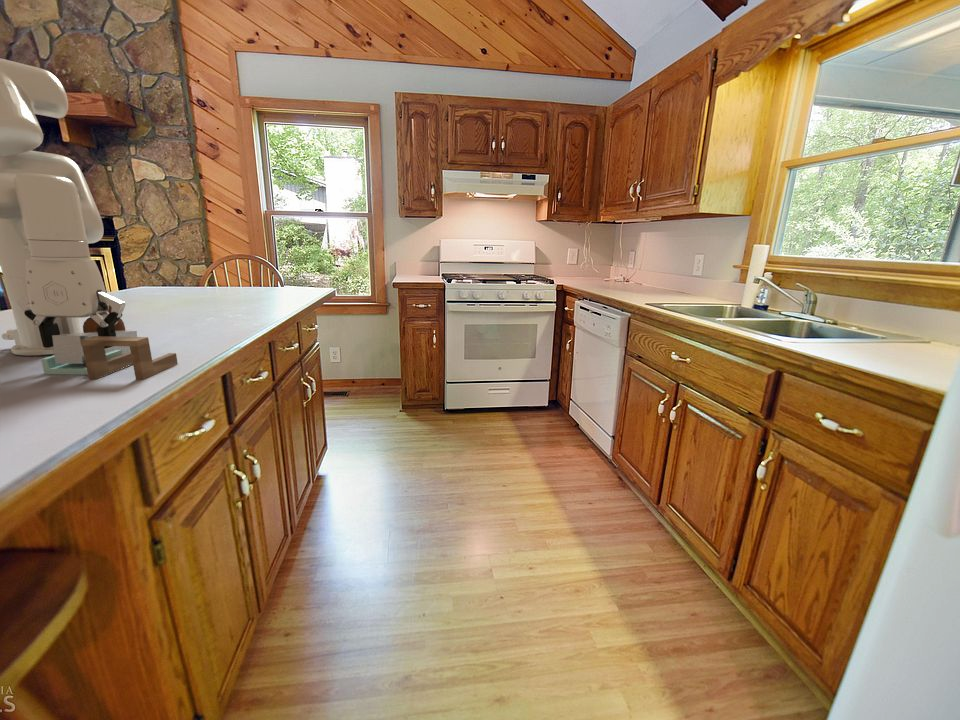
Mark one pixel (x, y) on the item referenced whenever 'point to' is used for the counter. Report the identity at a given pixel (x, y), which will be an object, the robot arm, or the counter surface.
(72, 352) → the bar
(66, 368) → the cradle
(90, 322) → the wooden figurine
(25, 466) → the counter surface
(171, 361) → the brown wooden stepped stand
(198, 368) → the counter surface
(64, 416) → the counter surface
